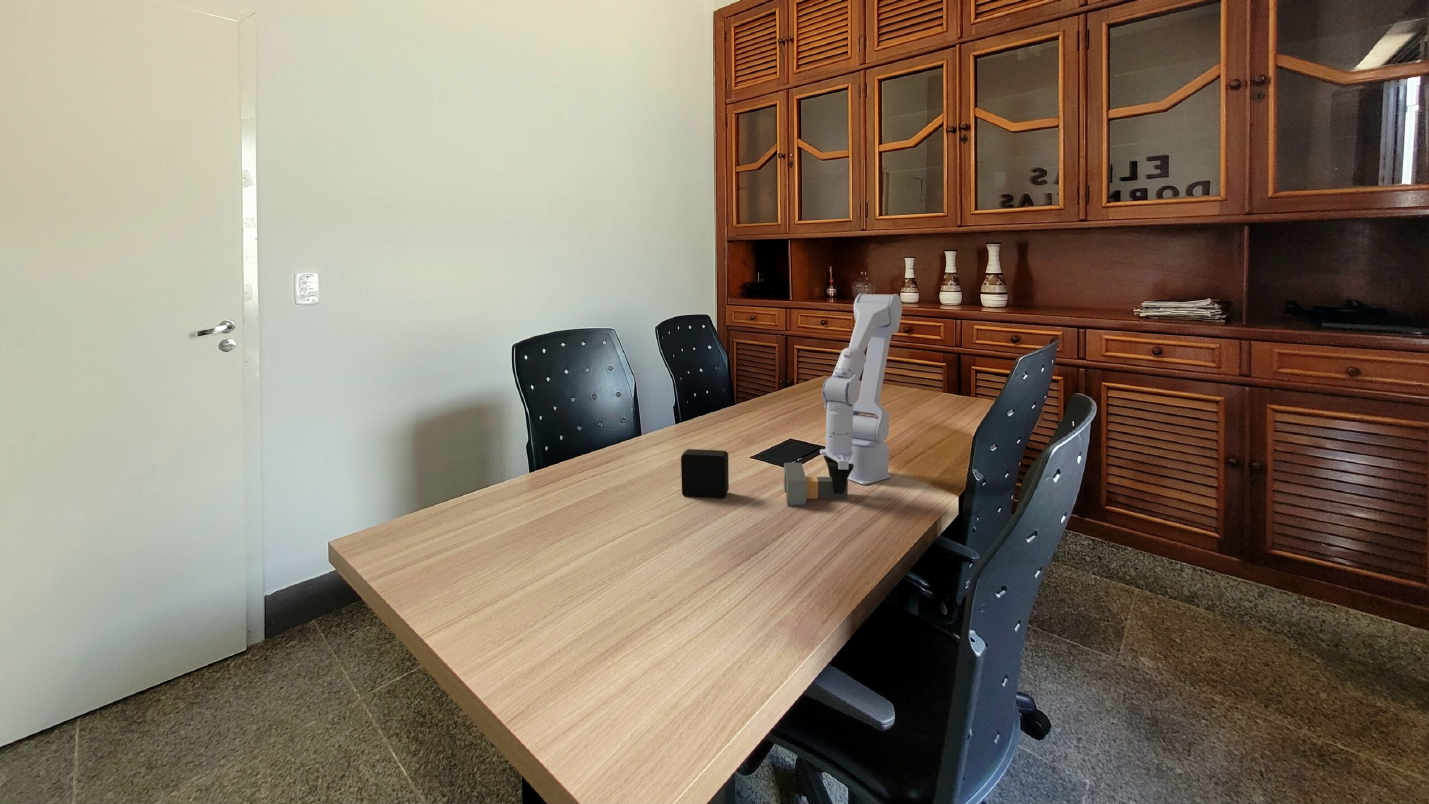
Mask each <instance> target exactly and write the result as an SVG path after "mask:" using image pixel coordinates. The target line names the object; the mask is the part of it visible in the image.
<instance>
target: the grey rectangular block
mask: <svg viewBox="0 0 1429 804" xmlns="http://www.w3.org/2000/svg"><path fill="white" fill-rule="evenodd" d="M806 477H807V476H806V474H805V470H804V466H803V464H802V462H784V463H783V488H784V489H783V490H784V493H786V505H787V507H807V499H806V493H807V480H806Z"/></svg>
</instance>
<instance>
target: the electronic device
mask: <svg viewBox="0 0 1429 804" xmlns="http://www.w3.org/2000/svg"><path fill="white" fill-rule="evenodd" d="M680 467H681V468H680V471H681V474H680V475H681V494H682V496H683V497H686V498H699V499H700V498H703V499H717V500H722V499H725V498H726V496H727V494H728V492H729V489H730V488H729V478H730V477H729V474H730V473H729V471H730V470H729V452H727V451H726V450H721V449H720V450H719V449H718V450H716V449H715V450H714V449H695V448H688V449H686V450H684V451H683V452H682V453H681V457H680Z"/></svg>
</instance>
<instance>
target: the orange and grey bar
mask: <svg viewBox="0 0 1429 804" xmlns="http://www.w3.org/2000/svg"><path fill="white" fill-rule="evenodd" d="M806 480H807V493H806V500H807V499H818V500H819V499H820V500H821V499H823V500H824V499H830V500H832V499H833V500H834V499H836V500H837V499H838V500H841V499H842V500H843V499H844V500H846V499H848V491H849V489H848V488H849V481H848V480H847V483H846V487H845V491H844V493H843V494H834V491H833V486H832V478H831V477H830V476H806Z"/></svg>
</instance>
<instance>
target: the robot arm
mask: <svg viewBox="0 0 1429 804" xmlns="http://www.w3.org/2000/svg"><path fill="white" fill-rule="evenodd" d="M902 313H903V304H902V298H901V296H900V295H899V294H898V293H894V294H880V293H879V294H877V293H876V294H873V293H872V294H871V293H870V294H869V293H868V294H867V293H866V294H864V293H859V294H857V296H856V297H855V299H854V302H853V315H854V317H853V318H854V321H855V324H854V327H853V331H852V333H851V337H850V342H849V345H848V347H846V348H843V349H842V350H841V351H840V354H839V358H838V360H837V362H836V365H835V367H834V369H833V373H832V375H831V376H830V377H829V378H828V377H827V378H825V380H824V382H823V384H822V390H821V399H822V400H823V408H824V411H826V412H825V413H826V414H825V415H826V416H825V417H826V420H825V422H826V423H825V448H824V449H823V448H821V449H819V453H820V455H822V456H823V459H824V461H825V463H826V465H827V469H828V477H831V478H832V486H833V491H834V494H843V493H844V491H845V487H846V483H847V481H848V480H849V481H852V482H854V483H858V484H860V485H864V486H865V485H871V484H872V483H876V482H879V481H883V480H886V479H890V478H891V477H892V476H891V474H889V461H890V451H889V450H890V449H889V447H888V444H887V443H886V442H885V441H886V440H887V438H888V437H889V431H890V427H889V426H890V425H889V423H890V421H889V420H890V414H889V412H888V410H886V408H884V407H883V406H882V405H881V403H880V402H881V401H880V400H881V396H882V395H881V394H882V388H883V384H884V379H885V372H886V366H887V362H888V361H887V360H888V356H889V354H888V353H889V349H890V343H891V339H892V335H894V334H896V333H898V332H899V328H900V325H901V318H902ZM866 349H867V350H866ZM865 352H866V354H865ZM861 376H862V378H861ZM860 379H861V380H860Z"/></svg>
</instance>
